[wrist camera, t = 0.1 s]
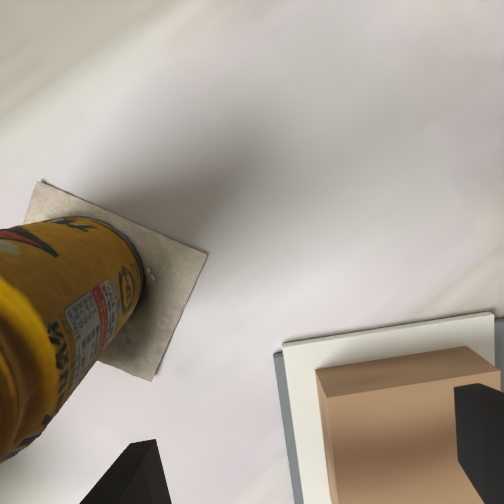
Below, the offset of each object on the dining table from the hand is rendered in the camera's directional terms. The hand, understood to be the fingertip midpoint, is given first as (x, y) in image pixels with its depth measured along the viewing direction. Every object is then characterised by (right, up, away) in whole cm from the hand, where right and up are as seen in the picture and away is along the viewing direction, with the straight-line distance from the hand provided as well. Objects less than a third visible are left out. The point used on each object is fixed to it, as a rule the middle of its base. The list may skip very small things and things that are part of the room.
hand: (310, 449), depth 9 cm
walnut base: (+6, -5, +11) cm, 14 cm away
